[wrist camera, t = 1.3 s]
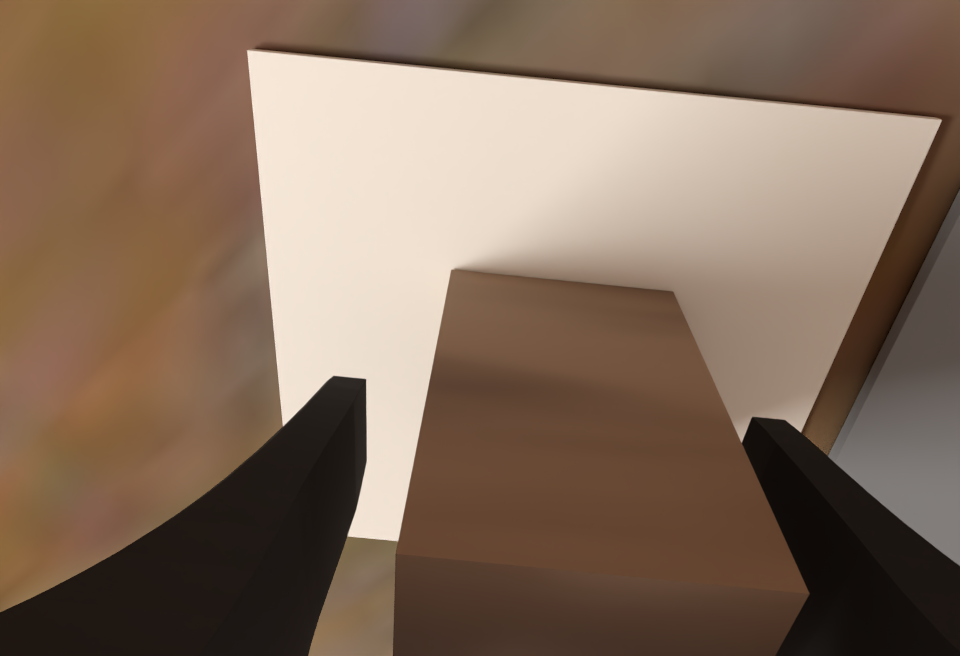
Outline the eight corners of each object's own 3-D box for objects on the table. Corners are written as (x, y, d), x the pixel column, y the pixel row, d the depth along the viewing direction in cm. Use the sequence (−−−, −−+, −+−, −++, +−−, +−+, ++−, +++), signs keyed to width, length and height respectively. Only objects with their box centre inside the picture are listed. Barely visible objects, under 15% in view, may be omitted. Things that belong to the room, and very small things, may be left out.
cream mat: (734, 567, 17) (737, 575, 17) (295, 524, 17) (292, 532, 17) (936, 117, 11) (943, 120, 11) (251, 48, 11) (246, 50, 11)
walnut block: (627, 457, 15) (699, 790, 9) (439, 439, 15) (390, 761, 9) (673, 291, 13) (809, 594, 7) (451, 269, 13) (395, 554, 7)
